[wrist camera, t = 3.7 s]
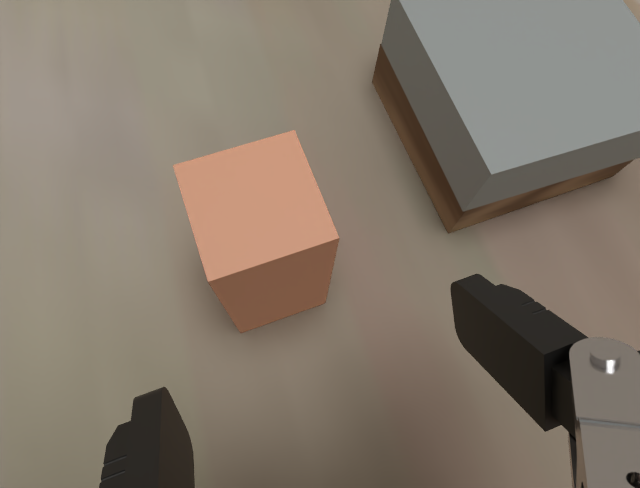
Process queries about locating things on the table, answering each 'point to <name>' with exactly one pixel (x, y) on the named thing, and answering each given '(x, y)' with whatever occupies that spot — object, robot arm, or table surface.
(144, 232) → the table surface
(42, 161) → the table surface
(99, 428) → the table surface
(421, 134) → the walnut slab
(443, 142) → the slate-grey slab
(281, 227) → the terracotta block
